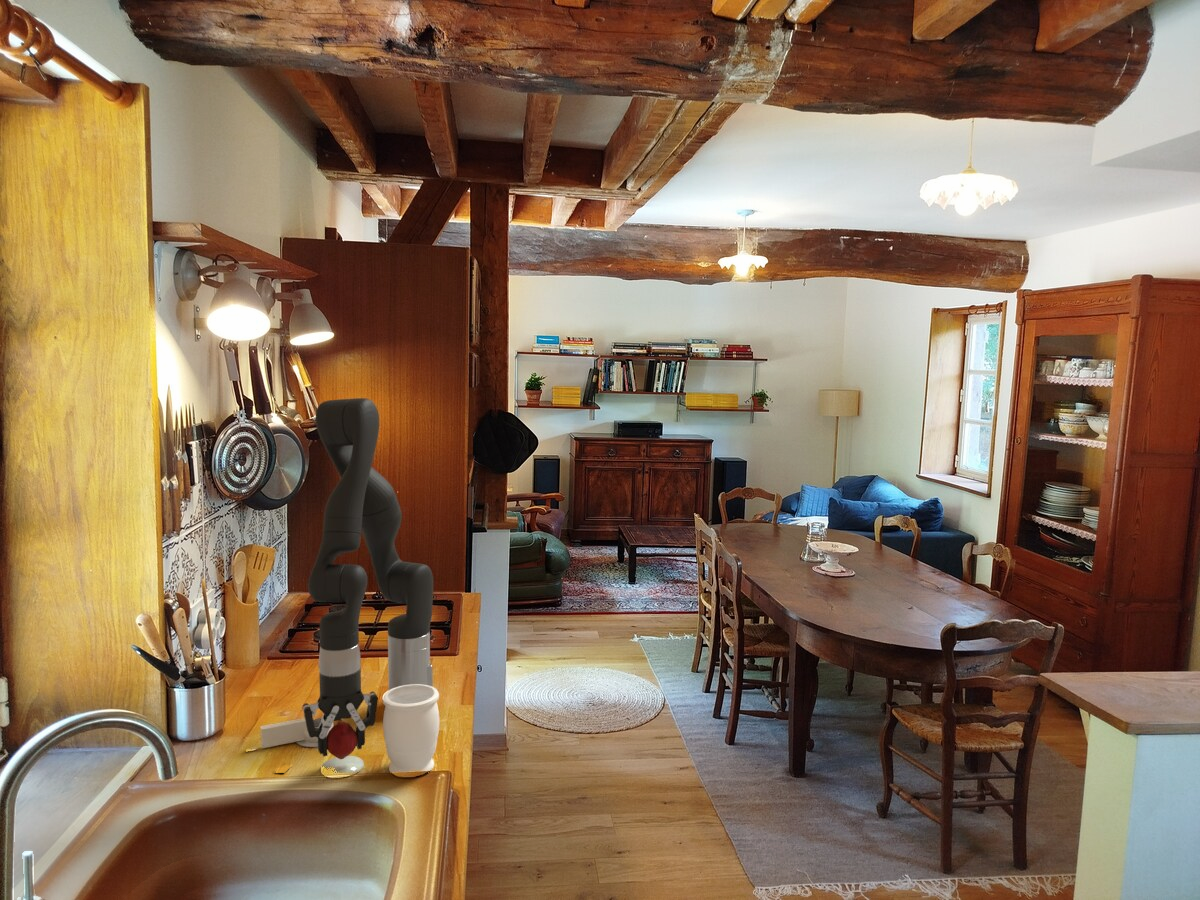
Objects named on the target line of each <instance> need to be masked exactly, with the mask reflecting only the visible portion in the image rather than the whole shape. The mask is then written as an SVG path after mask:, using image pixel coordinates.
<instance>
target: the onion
mask: <svg viewBox="0 0 1200 900" xmlns="http://www.w3.org/2000/svg"><path fill="white" fill-rule="evenodd" d="M336 722H337V723H336V724H335V725H334V726H333V727H332V728H331V730H330V731H329V733H328V734H327V752H328V753H330V754H331V755H332V756H333V757H334V758H335V757H337V758H338V759H344V758H345V757H347V756H350V755H351V754H352V753H353V752H354V750H356V748H357V747H356V745H357V741H358V738H357V734H356V729H354V728H353V727H352V725H351V724H349V723H347V722H345V721H344V720H343V719H340V720H338V721H336Z"/></svg>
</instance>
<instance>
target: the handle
mask: <svg viewBox="0 0 1200 900" xmlns="http://www.w3.org/2000/svg"><path fill="white" fill-rule="evenodd" d="M321 719H322V717H321V718H320V717H319V718H313V722H314V727H315V728H318V727H319V725H320V723H321ZM333 726H335V725H334V722H333V723H332V725H331V727H330V728H329V730H328V732H327V734H328V733H329V731H330V730H331V728H332V727H333ZM327 734H326V737H327ZM302 740H305V741H307V742H318V738H317V737H313V738H311V737H310V736H309V734H308V731H307V726H306V721H305V717H302V718H297V719H292V720H287V721H282V722H277V723H271V724H266V725H260V743H261V744H260V745H261V749H266V748H272V747H276V746H279V745H280V746H282V745H286V744H292V743H296V742H297V741H302Z"/></svg>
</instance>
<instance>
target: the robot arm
mask: <svg viewBox="0 0 1200 900" xmlns="http://www.w3.org/2000/svg"><path fill="white" fill-rule="evenodd" d="M315 425H316V430H317V433H318V435H319V439H320V441H321V443H322V444H323V446H324V449H325V451H326V453H327V454H328V456H329V458H330V460H331V462H332V464H333V466H334V467H335V470H336V471H337V473H338V475H339V478H340V479H339V481H338V482H337V483H336V485H335V487H334V488H333V490H332V492H331V493H330V495H329V497H328V499H327V502H326V504H325V508H324V513H323V525H322V538H321V542H320V547H319V549H318V554H317V556H316V558H315V562H314V564H313V567H312V569H311V572H310V574H309V577H308V581H307V590H308V594H309V596H310V598H312V600H313V601H315V602H316V603H317V602H318V603H345V604H346V605H345V608H343V609H341V610H339V609H338V610H336V611H331V612H328V613H326V614H324V615H322V616H321V618H320V620H319V655H318V656H319V657H318V670H319V672H318V674H319V697H318V700H316V701H317V702H313V703H310V704H309V703H303V704H302V711H303V716H304V717H303V718H305V721H306V726H307V731H308V734H309V736H310V737H311V738H313V737H317V738H318V747H317V750H318V753H319V754H320V755H322V756H323V757H327V756H328V750H327V737H326V734H327V732H328V730H329V728H330V727H331V725H332V723H334V722H338V720H340V719H342V720H348V719H351V718H352V719H353V721H354V723H355V724H356V727H355V732H356V734H357V738H358V741H357V745H356V747H355V748H357V750H362V746H365V744H366V738H365V737H366V729H367V728H368V727H373V726H374V725H375V724H376V723H375V722H376V716H377V708H378V704H379V697H378V695H377V693H376V692H375V691H370V693H363V692H362V677H361V675H362V672H361V671H362V670H361V669H362V668H361V667H362V663H361V661H362V659H361V650H360V639H359V638H360V637H359V636H360V634H359V633H360V630H359V624H360V623H359V622H360V614H361V609H362V605H363V600H364V598H365V595H366V591H367V587H368V583H369V582H368V579H369V578H368V575H367V571H366V570H365V568H364V567H362V566H361V565H359V564H337V563H335V564H334V561H336V559H337V557H338V556H340V555H343V554H347V553H352V552H356V551H357V550H358V549H360V547H361V546H360V545H361V540H362V539H361V538H362V536H363V539H364V542H365V544H366V548H367V550H368V553H369V556H370V559H371V562H372V563H371V564H372V567H373V572H374V575H375V579H376V582H377V586H378V590H379V592H380V594H381V595H382V597H383V599H385V600H387V601H388V602H392V603H397V604H403V605H406V611H405V614H399V615H396V616H394V617H393V618H391V619H390V620H389V621H388V624H387V652H388V653H387V654H388V655H387V657H388V659H387V660H388V661H387V666H388V668H387V669H388V670H387V671H388V691H389V690H390V689H393V688H395V687H398V686H403V685H409V684H424V685H429V686H432V687H434V683H433V682H434V680H433V678H434V676H433V675H434V672H433V671H434V670H433V665H432V663H431V645H430V643H431V638H430V637H431V635H430V631H431V622H432V617H433V603H434V601H433V598H434V576H433V571H432V570H431V568H430V566H428V564H424V563H416V562H410V561H409V562H408V561H403V560H402V559H401V558H400V557H399V554H398V552H397V550H396V545H395V541H396V537H397V536H398V532H399V530H400V527H401V524H402V517H403V515H402V509H401V506H400V503H399V500H398V497H397V495H396V492H395V489H394V487H393V486H392V485H391V483H390V482H389V481H388V480H387V479H386V478H385V477H384V476H383V475H382V474H381V473H379V472H378V471H377V470H376V469H375V468H373V466H372V465H373V462H374V457H375V453H376V448H377V444H378V443H377V442H378V438H379V432H380V414H379V409H378V407H377V406H376V404H375V403H374V402H373V400H371V399H370V398H365V397H364V398H363V397H360V398H359V397H358V398H357V397H356V398H343V399H342V398H341V399H340V398H339V399H332V400H331V399H330V400H326V401H323V402H321V403H320V404H319V405H318V406H317V408H316V411H315ZM363 701H364V702H365V704H366V706H367V707H366V712H365V713H366V714H365V718H361V716H360V714H359V712H358V710H359V708H360V707H361V705H362V703H363ZM318 709H319V710H320V711H321V713H323V714H322V716H321V718H322V719H321V723H320V725H319V727H318V728H315V727H314V722H313V719H314V718H313V717H314V716H316V713H317V710H318Z"/></svg>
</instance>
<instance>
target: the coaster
mask: <svg viewBox="0 0 1200 900" xmlns="http://www.w3.org/2000/svg"><path fill="white" fill-rule="evenodd" d="M364 765H365V764H364V760H363V759H362V758H360V757H359V756H356V755H348V756H347V757H345V758H344V759H338V758H337V757H335V756H334V757H333V758H329V759H328V760H326V761H325V762H323V763H322V765H321V766H322V767H323V766H324V767H325V768H326V769H327V768H328V767H329V768H330V767H331V768H332V767H333V768H335V769H334V771H335V770H336V771H337V773H338V772H339V773H356V772H359V771H360V770H361V769H362V768H363V769H364ZM329 768H328V769H329ZM331 768H330V769H331ZM328 769H327V770H328ZM363 769H362V770H363ZM362 770H361V771H362ZM332 771H333V770H332ZM334 771H333V772H334ZM361 771H360V772H361ZM360 772H359V773H360ZM335 773H336V772H335Z"/></svg>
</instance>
